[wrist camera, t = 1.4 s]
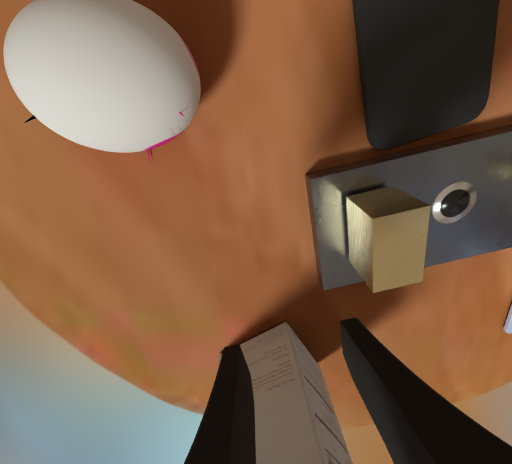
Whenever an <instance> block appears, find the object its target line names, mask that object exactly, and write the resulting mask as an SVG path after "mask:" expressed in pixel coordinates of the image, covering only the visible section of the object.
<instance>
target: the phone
mask: <svg viewBox="0 0 512 464" xmlns="http://www.w3.org/2000/svg"><path fill="white" fill-rule="evenodd" d="M352 2H353V11H354V20H355V30H356V39H357V48H358V58H359V67H360V76H361V85H362V95H363V104H364V113H365V123H366V131H367V137H368V140H369V142H370V144H371V145H372V146H373V147H375V148H377V149H380V150H387V149H391V148H394V147H397V146H400V145H403V144H406V143H409V142H412V141H415V140H418V139H421V138H424V137H427V136H430V135H433V134H436V133H439V132H442V131H445V130H448V129H451V128H454V127H457V126H460V125H463V124H465V123H468V122H470V121H472V120H474V119H475V118H476V117H477V116H479V115H480V113H481V112H482V111H483V109H484V108H485V106H486V103H487V100H488V96H489V89H490V80H491V71H492V62H493V52H494V43H495V34H496V25H497V16H498V6H499V0H352Z"/></svg>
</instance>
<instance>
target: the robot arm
mask: <svg viewBox="0 0 512 464" xmlns="http://www.w3.org/2000/svg"><path fill="white" fill-rule="evenodd" d="M340 325H341V336H342V348H343V355H344V358H345V360H346V363H347V366H348V368H349V371H350V373H351V376H352V379H353V381H354V383H355V385H356V387H357V389H358V391H359V393H360V395H361V397H362V399H363V401H364V403H365V405H366V407H367V409H368V411H369V413H370V415H371V417H372V419H373V421H374V423H375V425H376V427H377V429H378V431H379V433H380V435H381V437H382V439H383V441H384V443H385V445H386V447H387V449H388V451H389V454H390V456H391V458H392V460H393V463H394V464H512V446H510V445H509V444H507V443H506V442H504V441H503V440H501V439H500V438H498V437H497V436H495V435H494V434H492V433H491V432H489V431H488V430H487V429H485V428H484V427H482V426H481V425H480V424H478V423H477V422H475V421H474V420H473V419H471V418H470V417H468V416H467V415H466V414H464V413H463V412H462V411H460V410H459V409H457V408H456V407H455V406H454V405H452V404H451V403H450V402H448V401H447V400H446V399H445V398H443V397H442V396H441V395H440V394H438V393H437V392H436V391H435V390H433V389H432V388H431V387H430V386H428V385H427V384H426V383H425V382H424V381H422V380H421V379H420V378H419V377H418V376H417V375H415V374H414V373H413V372H412V371H411V370H410V369H408V368H407V367H406V366H405V365H404V364H403V363H402V362H401V361H400V360H399V359H397V358H396V357H395V356H394V355H393V354H392V353H391V352H390V351H389V350H388V349H387V348H386V347H385V346H384V345H383V344H381V343H380V342H379V341H378V340H377V339H376V338H375V337H374V336H373V335H372V334H371V333H370V331H369V330H368V329H367V328H366V327H365V326H364V325H363V324H362V323H361V322H360V321H359V320H358V319H357V318H351V319H346V320H342V321H340ZM504 331H505V332H507V333H512V304H511V307H510V310H509V314H508V317H507V320H506V323H505V326H504ZM184 464H256V441H255V408H254V396H253V388H252V380H251V374H250V371H249V368H248V366H247V363H246V360H245V357H244V355H243V352H242V349H241V346H240V344H237V345H233V346H229V347H225V348H224V349H223V352H222V357H221V361H220V365H219V369H218V372H217V376H216V379H215V382H214V386H213V389H212V392H211V395H210V398H209V401H208V404H207V407H206V410H205V413H204V415H203V418H202V421H201V423H200V426H199V428H198V431H197V434H196V437H195V439H194V442H193V444H192V446H191V449H190V451H189V453H188V456H187V458H186V460H185V462H184Z"/></svg>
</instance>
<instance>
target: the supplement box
mask: <svg viewBox="0 0 512 464" xmlns="http://www.w3.org/2000/svg"><path fill="white" fill-rule="evenodd" d="M240 346H241V349H242V352H243V355H244V357H245V360H246V363H247V366H248V368H249V371H250V374H251V380H252V388H253V396H254V408H255V441H256V464H353V463H352V460H351V457H350V455H349V452H348V449H347V446H346V443H345V440H344V437H343V434H342V431H341V428H340V425H339V422H338V419H337V416H336V413H335V411H334V407H333V405H332V402H331V399H330V396H329V393H328V390H327V387H326V384H325V381H324V378H323V375H322V372H321V369H320V367H319V365H318V363H317V362H316V361H315V360H314V358H313V357H312V355H311V354H310V353H309V351H308V350H307V349H306V347H305V346H304V345H303V343H302V342H301V341H300V339H299V338H298V337H297V335H296V334H295V333H294V331H293V330H292V329H291V327H290V326H289V325H288V323H287V322H284V323H282V324H280V325H278V326H276V327H274V328H273V329H271V330H268V331H266V332H264V333H262V334H260V335H258V336H256V337H254V338H252V339H250V340H248V341H246V342H244V343H242V344H240ZM221 357H222V354H220V355H219V365H220V361H221Z"/></svg>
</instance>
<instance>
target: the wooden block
mask: <svg viewBox="0 0 512 464" xmlns="http://www.w3.org/2000/svg"><path fill="white" fill-rule="evenodd" d="M346 205H347V223H348V241H349V259H350V263H351V264H352V265H353V267H354V268H355V269H356V271H357V272H358V273H359V275H360V276H361V278H362V279H363V280H364V282H365V283H366V284H367V286H368V287H369V288H370V290H371V291H372V292H373V293H375V292H380V291H384V290H388V289H393V288H397V287H401V286H406V285H410V284H414V283H419V282H422V280H423V271H424V262H425V253H426V244H427V234H428V225H429V216H430V207H431V205H429V204H427V203H425V202H423V201H421V200H419V199H417V198H416V197H414V196H412V195H410V194H408V193H406V192H404V191H402V190H401V189H399V188H397V187H395V186H389V187H385V188H381V189H377V190H373V191H368V192H364V193H360V194H356V195H352V196H347V197H346Z"/></svg>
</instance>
